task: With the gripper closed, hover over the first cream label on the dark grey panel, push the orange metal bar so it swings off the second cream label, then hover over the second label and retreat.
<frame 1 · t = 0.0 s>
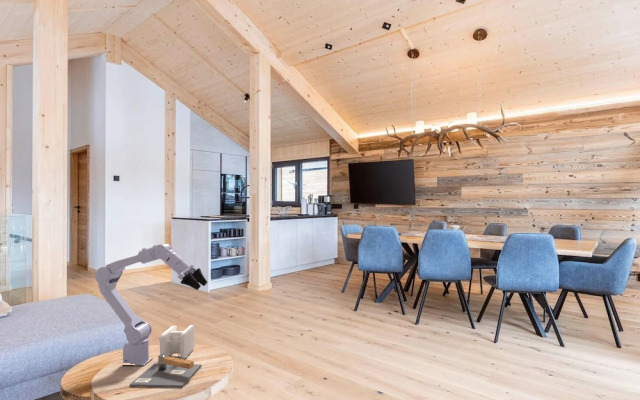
hand: (202, 286, 159), 32 cm above the table, tool tilted 50°, fingers open, 7 cm apart
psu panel: (167, 375, 147), on the table
white notched block: (177, 356, 167), on the table
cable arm: (175, 365, 149), point 4 cm above the table, hinge at 0.0°
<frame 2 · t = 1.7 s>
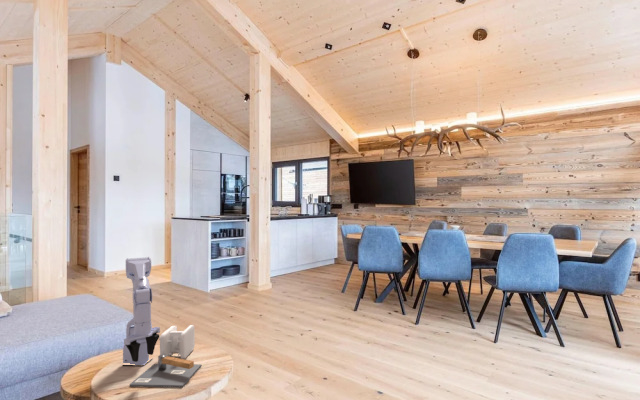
hand: (142, 357, 142), 9 cm above the table, tool pointing down, fingers open, 6 cm apart
nothing on the table moved.
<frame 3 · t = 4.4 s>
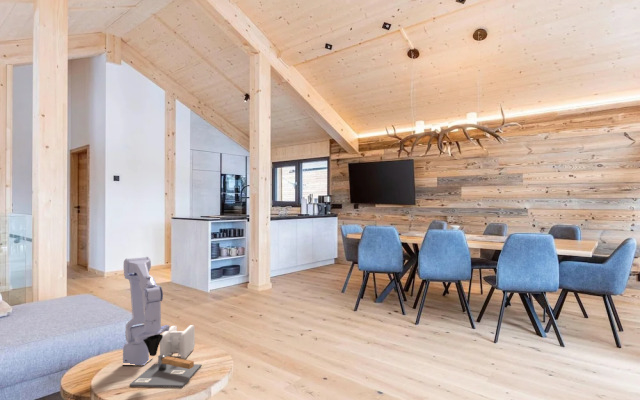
hand: (152, 355, 144), 9 cm above the table, tool pointing down, fingers closed
nothing on the table moved.
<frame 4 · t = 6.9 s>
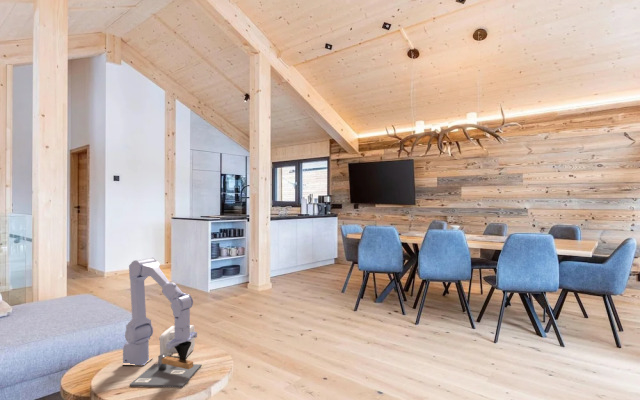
hand: (182, 361, 149), 5 cm above the table, tool pointing down, fingers closed, pressing on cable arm
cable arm: (174, 365, 149), point 4 cm above the table, hinge at -1.3°, touching gripper
everything else where it was.
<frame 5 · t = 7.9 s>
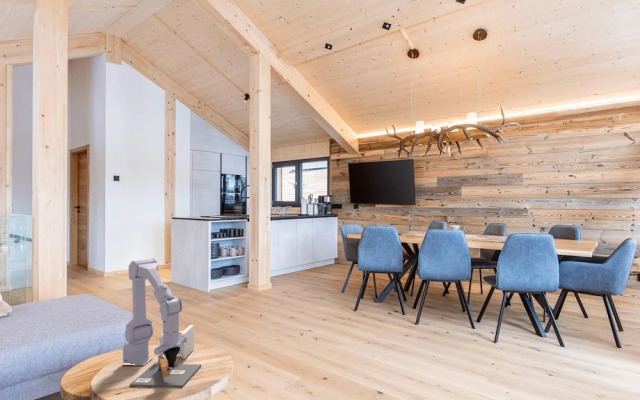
hand: (171, 366, 144), 5 cm above the table, tool pointing down, fingers closed, pressing on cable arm
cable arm: (164, 368, 146), point 3 cm above the table, hinge at -38.3°, touching gripper
everything else where it was.
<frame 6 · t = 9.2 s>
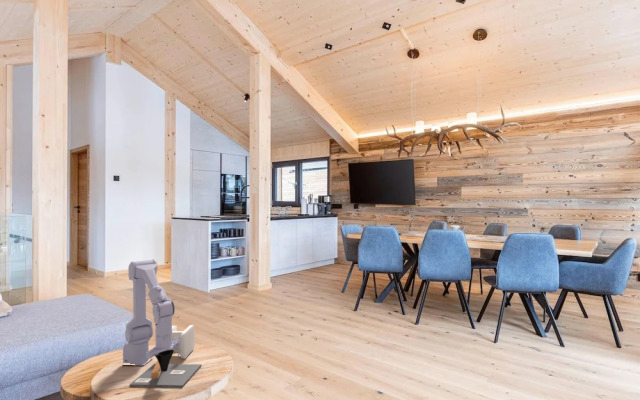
hand: (164, 370, 141), 5 cm above the table, tool pointing down, fingers closed
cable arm: (159, 369, 145), point 4 cm above the table, hinge at -53.2°, touching gripper
everything else where it was.
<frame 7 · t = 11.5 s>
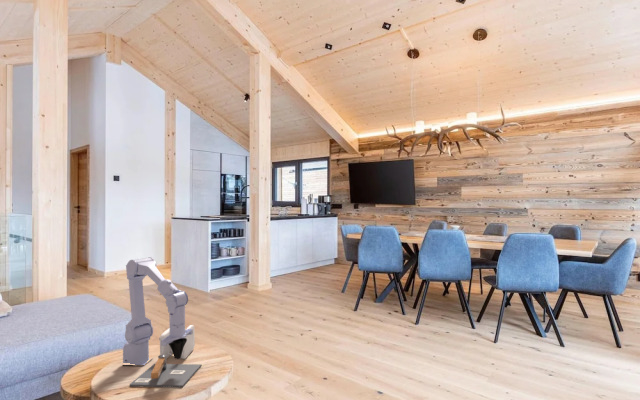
hand: (177, 358, 148), 6 cm above the table, tool pointing down, fingers closed
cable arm: (159, 369, 145), point 4 cm above the table, hinge at -53.5°
everything else where it was.
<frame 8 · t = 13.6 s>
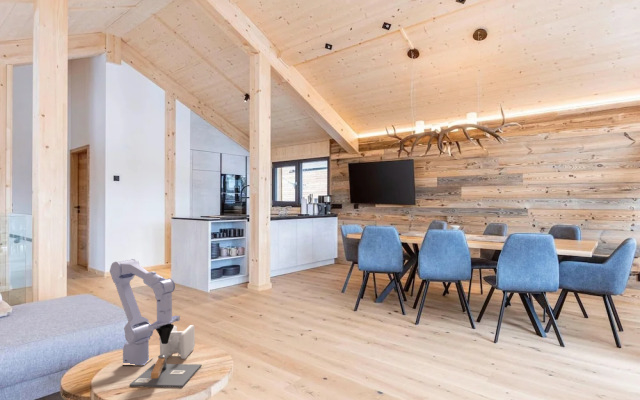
hand: (164, 343, 154), 10 cm above the table, tool pointing down, fingers closed
nothing on the table moved.
at the end: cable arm at -54° (first picture: +0°); white notched block moved 0.3 cm from its start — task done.
